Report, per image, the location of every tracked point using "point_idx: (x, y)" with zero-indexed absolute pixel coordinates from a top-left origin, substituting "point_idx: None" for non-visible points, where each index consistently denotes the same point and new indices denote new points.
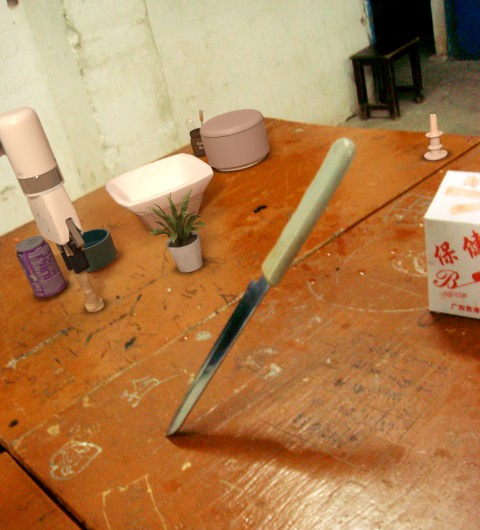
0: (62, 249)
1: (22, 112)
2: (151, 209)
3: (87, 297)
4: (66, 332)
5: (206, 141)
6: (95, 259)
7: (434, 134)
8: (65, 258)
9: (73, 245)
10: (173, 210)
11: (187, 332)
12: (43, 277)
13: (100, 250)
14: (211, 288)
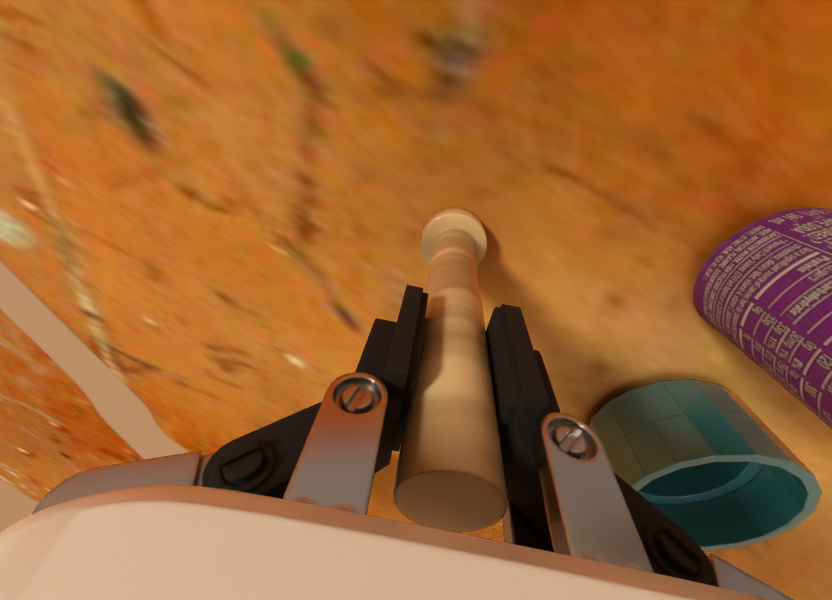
0: (535, 437)
1: None
2: None
3: (446, 240)
4: (442, 53)
5: None
6: (625, 429)
7: None
8: (506, 365)
9: (202, 486)
10: None
11: (54, 227)
12: (807, 278)
13: (615, 464)
14: (202, 382)
